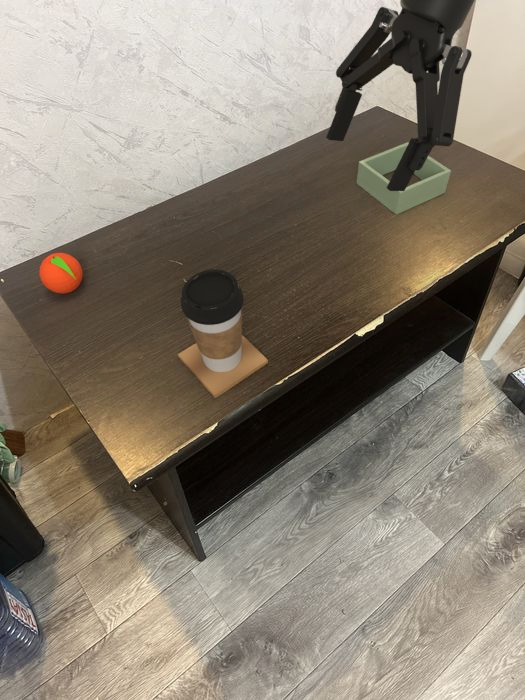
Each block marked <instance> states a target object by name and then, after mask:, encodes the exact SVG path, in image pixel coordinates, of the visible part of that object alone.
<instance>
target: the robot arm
mask: <svg viewBox="0 0 525 700" xmlns="http://www.w3.org/2000/svg"><path fill="white" fill-rule="evenodd" d="M475 1H476V0H400V1H399V4H400V7H401V10H400V12H398V10H395V9H392V8H388V7H385V6H381V7H379V8H378V10H377V13H376V14H375V17H374V19H373V21H372V22H371V25H370V26H369V28H368V29H367V30H366V31H365V33H364V34H363V36H361V38H360V39H359V40H358V42H357V43H356V44H355V46H354V47H353V48H352V49H351V50H350V51H349V53H348V55H346V57H345V58H344V60H343V61H342V62H341V64H340V65H339V66H338V67H337V68H336V70H335V76H336V78H339V79H340V81H341V87H342V88H341V91H340V94H339V96H338V99H337V102H336V104H335V106H334V107H335V108H334V112H335V114H334V115H333V119H332V121H331V123H330V126H329V129H328V132H327V134H326V137H325V138H326V139H327V140H328V141H336V142H344V141H345V138H346V136H347V133H348V130H349V128H350V126H351V123H352V121H353V119H354V116H355V114H356V111H357V109H358V106H359V104H360V101H361V98H362V96H363V94H362V93H361V92H362V91H363V87H364V86H366V85H367V84H368V83H370V82H371V81H372V80H374V79H375V78H376V77H378V76H379V75H381V74H382V73H384V72H385V71H386V70H387V69H389V68H390V67H391V66H393V65H395V66H397V67H401V68H402V69H403V71H404V72H406V73H408V74H409V75H411V76H412V77H411V78H412V81H413V83H414V84H415V101H416V121H417V122H416V123H417V124H416V126H417V127H416V128H417V137H416V138H415V137H411V138H410V140H409V142H408V143H409V144H408V146H407V148H406V150H405V152H404V154H403V156H402V158H401V160H400V162H399V164H398V166H397V168H396V170H394V171H393V174H392V176H391V178H390V180H389V181H390V182H389V184H388V186H387V189H388V190H389V191H405V189H406V187H408V186H409V183H410V181H411V179H412V177H413V175H414V172H415V170H420V169H421V168H422V167H423V165H424V163H425V161H426V159H427V157H428V156H430V153H431V151H432V150H433V148H434V147H435V146H437V147H450V146H452V144H453V143H454V138H455V130H456V125H457V119H458V113H459V106H460V100H461V94H462V88H463V80H464V75H465V73H466V71H467V67H468V65H469V63H470V61H471V58H472V55H473V54H472V51H471V50H470V49H468V48H465V47H462V46H459V45H458V46H457V45H452V42H453V38H454V35H455V34H456V33H457V32H458V31H459V30H460V29H461V28H462V27H463V26H464V24H465V21H466V19H467V17H468V15H469V13H470V11H471V9H472V7H473V5H474V3H475ZM390 35H391V37H390V38H389V36H390ZM388 38H389V39H388ZM387 39H388V40H387ZM386 40H387V41H386ZM440 62H441V64H442V69H441V71H440ZM438 83H439V85H438ZM359 91H361V92H359Z"/></svg>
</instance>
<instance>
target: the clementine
mask: <svg viewBox="0 0 525 700" xmlns="http://www.w3.org/2000/svg"><path fill="white" fill-rule="evenodd" d="M83 272H84V271H83V269H82V265H81V263H80V262H79V261H78V260H77V259H76V257H74V256H72V255H71V254H69V253H65V252H55V253H51V254H50V255H48V256H47V257H45V258H44V259H43V260H42V262H41V264H40V266H39V278H40V280H41V282H42V285H44V287H45V288H47V289H48V290H49V291H51V292H53V293H57V294H68V293H72V292H73V291H75V290H76V289H78V287H79V286H80V285H81V283H82V280H83V275H84V274H83Z"/></svg>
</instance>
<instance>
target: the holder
mask: <svg viewBox="0 0 525 700" xmlns="http://www.w3.org/2000/svg"><path fill="white" fill-rule="evenodd" d="M408 144H409V142H405V143H402V144H400V145H398V146H394V147H392V148H390V149H387V150H384V151H382V152H380V153H377V154H375V155H372V156H369V157H367V158H364V159H362V160H359V161H358V166H357V176H356V185H358V186H359V187H360V188H361V189H363V191H365V192H366V193H368V194H369V195H371V196H372V197H373V198H374V199H376V200H377V201H378V202H379V203H380V204H382V205H383V206H384V207H385V208H387V210H389V211H391V212H392V213H393V214H394V215H396V216H397V215H399V214H401V213H404V212H405V211H408V210H410V209H413V208H415V207H416V206H418V205H421V204H423V203H426V202H428V201H430V200H433V199H434V198H437V197H439V196H441V195H444V194H445V193H446V192H447V187H448V184H449V181H450V177H451V173H452V169H450V168H448V167H446V166H445V165H443V164H442V163H440V161H437V160H436V159H434V158H433V157H431V156H430V155H428V157H427V159H426V161H425V163H424V165H423V167H422V168H421V169H420V170H415V172H414V174H413V175H414V176H416V177H417V178H419V179H420V180H419V181H417V182H415V183H413V184H411V185H407V187H406V189H405V191H389V190H388V189H387V186H388V184H389V182H390V180H389V179H387V178H386V177H385V175H387V174H389V173H391V172H395V170H396V168H397V166H398V164H399V162H400V160H401V158H402V156H403V154H404V152H405V150H406V148H407V146H408Z"/></svg>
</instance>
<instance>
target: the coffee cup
mask: <svg viewBox="0 0 525 700" xmlns="http://www.w3.org/2000/svg"><path fill="white" fill-rule="evenodd" d="M244 300H245V298H244V293H243V290H242V287H241V286H240V285H239V282H238V280H237V278H236V276H234V275H233V274H232V273H230V272H228V271H226V270H223V269H218V268H217V269H215V268H214V269H213V268H212V269H206V270H203V271H199V272H198V273H195V274H194V275H192V276H191V277H189V279H187V280H186V282H185V283H184V285H183V287H182V289H181V297H180V309H181V311H182V313H183V314H184V316H185V317H186V320H187V323H188V325H189V328H190V331H191V333H192V335H193V339H194V342H195V343H197V346H198V348H199V350H200V353H201V355H202V358H203V361H204V363H205V365H206V366H207V367H208V368H209V369H210V370H212V371H215V372H227V371H230V370H232V369H234V368H235V367H236V366H237V365H238V364H239V363H240V361H241V356H242V335H243V305H244Z"/></svg>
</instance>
